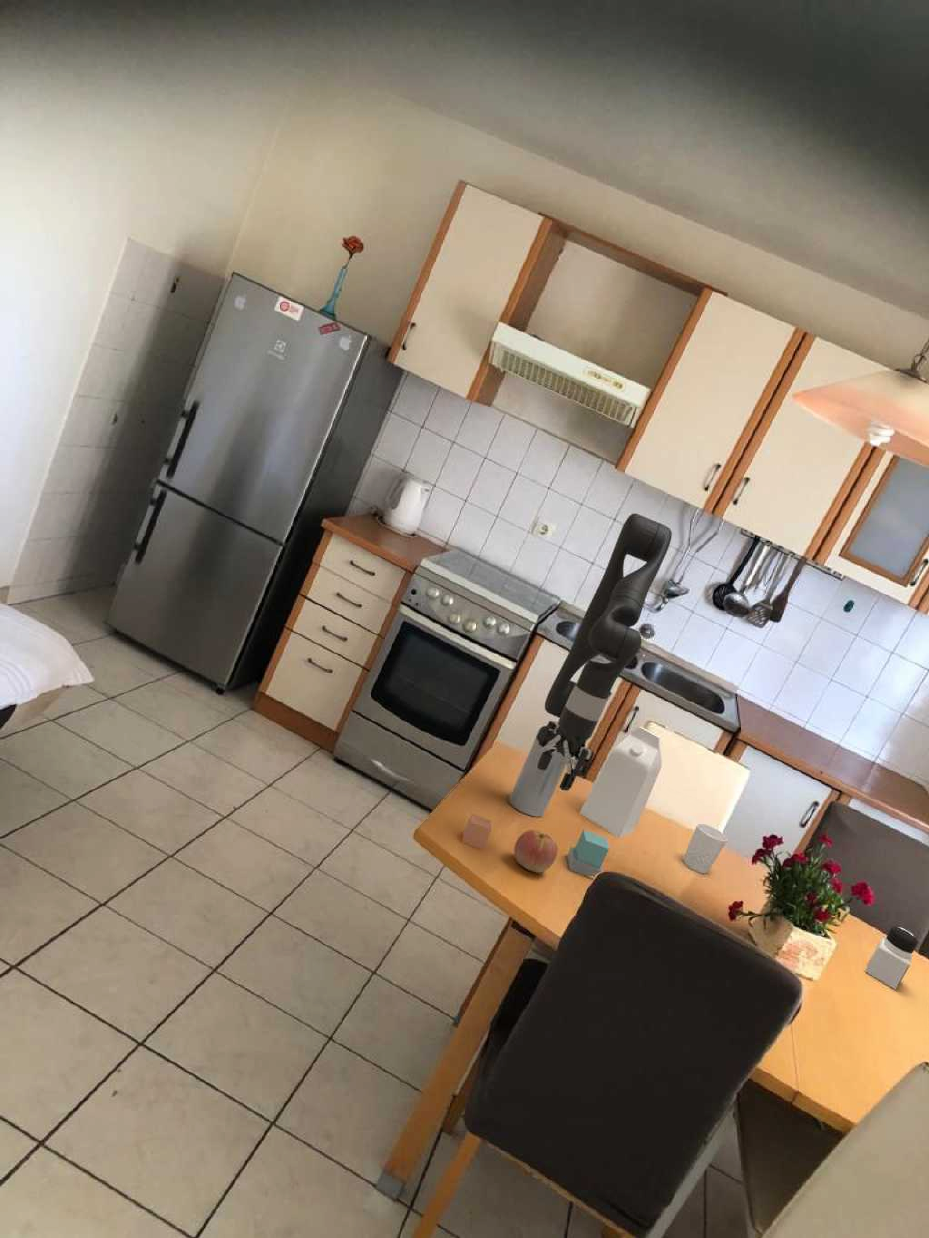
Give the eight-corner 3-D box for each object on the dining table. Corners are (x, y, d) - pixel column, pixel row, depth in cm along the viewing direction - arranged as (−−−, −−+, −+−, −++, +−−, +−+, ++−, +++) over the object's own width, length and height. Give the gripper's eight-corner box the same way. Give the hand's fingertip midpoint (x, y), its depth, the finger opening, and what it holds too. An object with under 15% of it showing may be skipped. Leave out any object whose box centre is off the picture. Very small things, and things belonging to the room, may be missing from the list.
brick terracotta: (463, 833, 206) (471, 813, 205) (482, 840, 206) (491, 820, 205) (462, 842, 201) (471, 821, 200) (481, 850, 201) (491, 829, 200)
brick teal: (574, 848, 214) (583, 829, 213) (597, 857, 215) (606, 838, 214) (576, 859, 209) (585, 840, 208) (599, 868, 209) (609, 849, 208)
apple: (545, 884, 198) (560, 851, 196) (506, 866, 199) (521, 832, 197) (549, 867, 206) (564, 835, 205) (511, 849, 207) (526, 817, 205)
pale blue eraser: (566, 855, 216) (571, 845, 215) (595, 866, 216) (600, 857, 215) (569, 869, 209) (573, 859, 208) (598, 881, 209) (603, 871, 209)
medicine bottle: (895, 990, 216) (920, 946, 213) (864, 972, 219) (889, 928, 217) (898, 980, 222) (923, 937, 220) (868, 962, 225) (892, 919, 223)
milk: (635, 829, 248) (677, 741, 243) (619, 837, 238) (663, 746, 233) (596, 805, 254) (636, 718, 248) (579, 812, 244) (620, 722, 238)
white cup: (712, 869, 243) (729, 835, 241) (707, 878, 235) (724, 844, 233) (683, 853, 245) (700, 820, 243) (677, 862, 238) (695, 828, 236)
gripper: (616, 729, 196) (584, 798, 199) (576, 698, 208) (547, 764, 211) (589, 724, 192) (557, 794, 195) (550, 693, 203) (521, 760, 206)
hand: (552, 779), depth 203 cm, fingers open, 8 cm apart
